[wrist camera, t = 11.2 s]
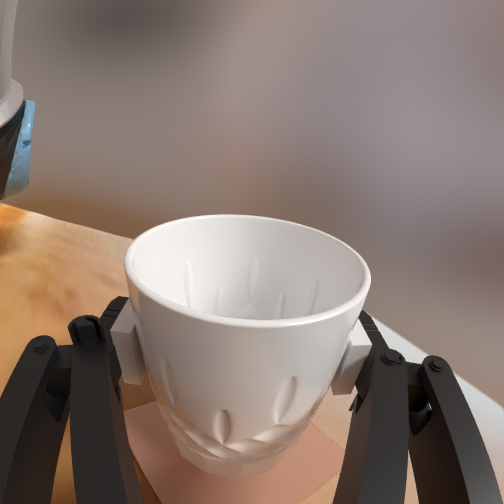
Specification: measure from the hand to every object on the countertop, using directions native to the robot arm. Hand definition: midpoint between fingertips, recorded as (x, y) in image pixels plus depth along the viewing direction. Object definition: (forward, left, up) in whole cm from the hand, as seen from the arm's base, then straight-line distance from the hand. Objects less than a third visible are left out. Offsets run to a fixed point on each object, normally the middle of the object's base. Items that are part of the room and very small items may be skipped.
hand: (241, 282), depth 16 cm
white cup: (+4, -3, -6) cm, 8 cm away
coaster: (+4, -3, -10) cm, 11 cm away
